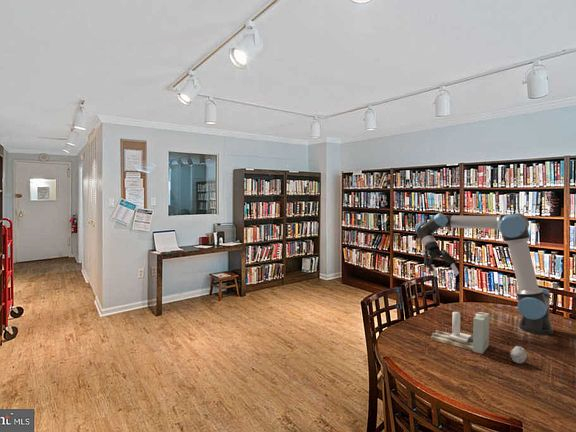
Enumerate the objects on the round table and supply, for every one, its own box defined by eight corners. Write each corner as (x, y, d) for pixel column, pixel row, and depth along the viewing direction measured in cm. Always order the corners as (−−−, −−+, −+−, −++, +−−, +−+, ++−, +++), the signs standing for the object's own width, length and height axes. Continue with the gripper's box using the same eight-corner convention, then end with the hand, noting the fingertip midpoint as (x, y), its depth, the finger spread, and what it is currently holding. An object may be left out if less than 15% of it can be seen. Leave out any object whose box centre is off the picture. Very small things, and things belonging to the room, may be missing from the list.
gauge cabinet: (489, 345, 169) (490, 311, 168) (483, 354, 160) (484, 318, 159) (478, 342, 172) (479, 309, 171) (471, 351, 164) (472, 315, 163)
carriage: (478, 339, 171) (478, 314, 170) (473, 344, 165) (473, 319, 164) (454, 333, 178) (454, 310, 177) (449, 338, 172) (449, 314, 172)
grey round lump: (529, 363, 151) (530, 347, 151) (522, 367, 147) (522, 351, 147) (514, 357, 156) (515, 342, 156) (506, 362, 153) (507, 346, 152)
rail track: (479, 343, 171) (479, 339, 171) (473, 350, 164) (473, 345, 164) (437, 333, 185) (437, 328, 185) (430, 339, 178) (430, 334, 177)
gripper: (445, 247, 212) (462, 277, 198) (409, 249, 207) (424, 280, 193) (451, 240, 207) (469, 269, 193) (414, 241, 201) (430, 272, 187)
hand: (447, 275), depth 193 cm, fingers open, 13 cm apart
